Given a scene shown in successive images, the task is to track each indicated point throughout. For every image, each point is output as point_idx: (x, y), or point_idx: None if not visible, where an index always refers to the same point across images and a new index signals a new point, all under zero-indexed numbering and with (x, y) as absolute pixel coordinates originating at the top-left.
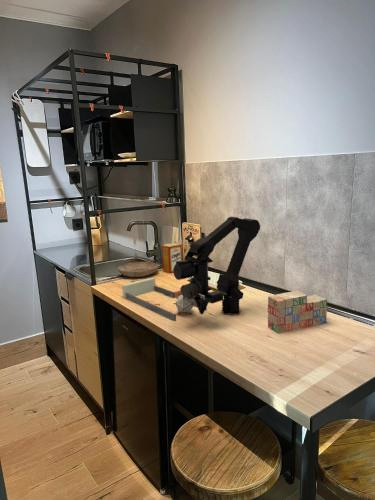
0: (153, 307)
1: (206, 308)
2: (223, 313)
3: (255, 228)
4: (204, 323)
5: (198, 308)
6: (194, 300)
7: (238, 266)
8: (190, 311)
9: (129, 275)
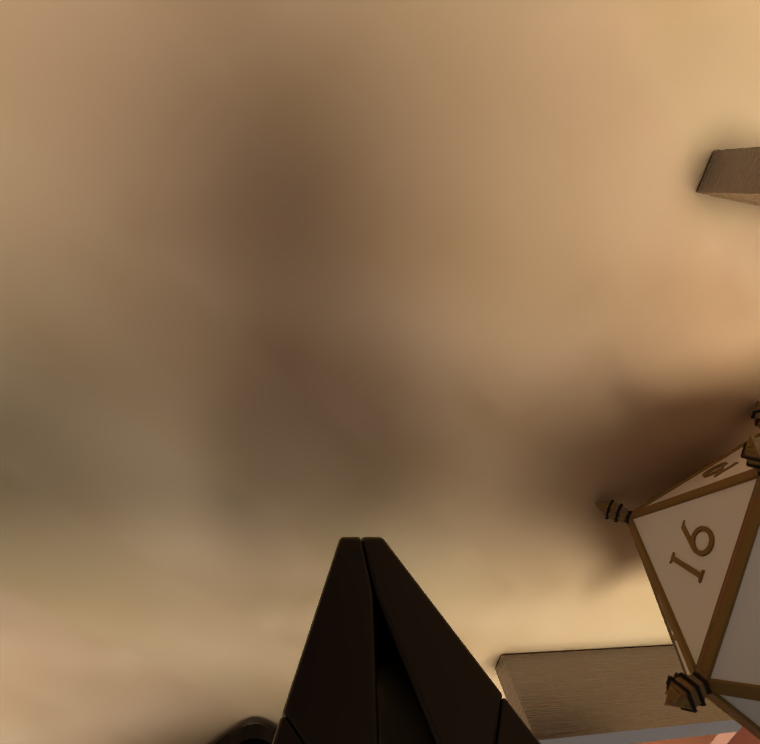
0: None
1: (504, 690)
2: (261, 727)
3: None
4: (216, 412)
5: (434, 630)
6: (725, 725)
7: None
8: (631, 531)
9: None
